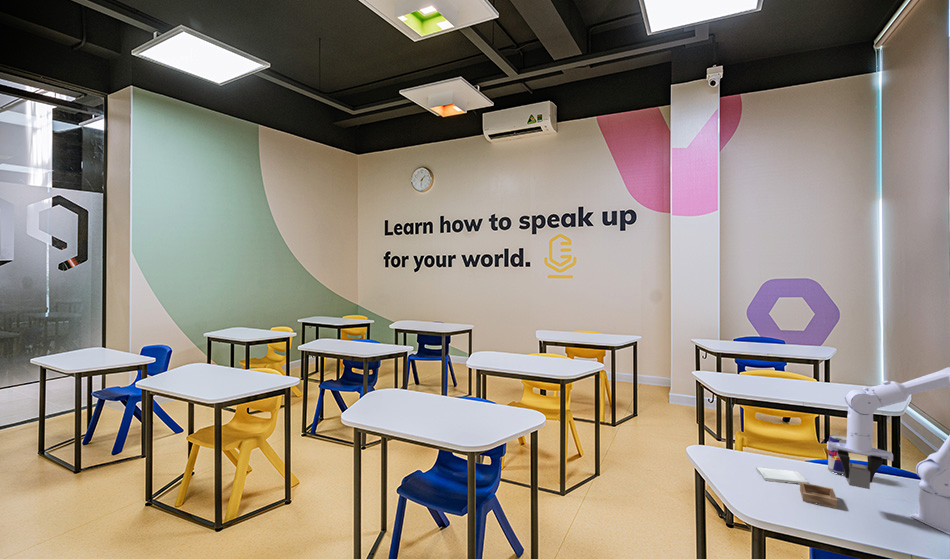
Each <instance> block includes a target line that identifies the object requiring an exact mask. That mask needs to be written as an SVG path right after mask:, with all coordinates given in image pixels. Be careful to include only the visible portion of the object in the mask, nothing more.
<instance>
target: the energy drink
mask: <svg viewBox="0 0 950 559" xmlns="http://www.w3.org/2000/svg"><path fill="white" fill-rule="evenodd" d="M846 441H847V436H844V435H841V434H830V435H829V437H828V442H835V443H846ZM848 454H849V455H850V453H848ZM827 457H828V461H827V470H828V471H829V472H830V471H831V472H830V473H832V472H834V473H837V474H843V475H842V476H844V469H843V465H842V462H841V460H840V457H839V455H838V453H837V451H835V450H832V451H831V450H828V456H827ZM834 473H833V474H834ZM837 474H836V475H837Z"/></svg>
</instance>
